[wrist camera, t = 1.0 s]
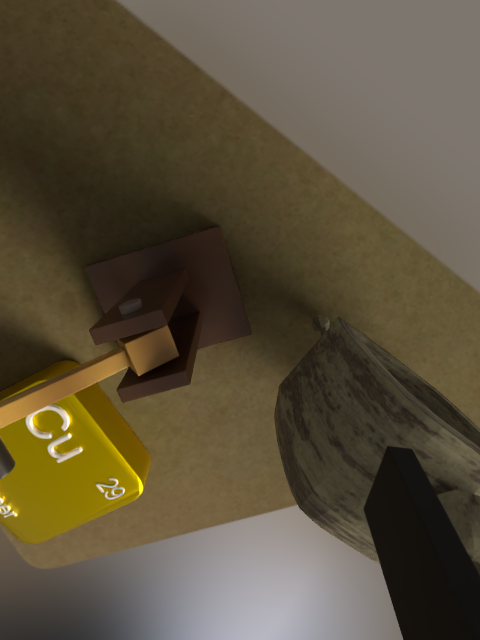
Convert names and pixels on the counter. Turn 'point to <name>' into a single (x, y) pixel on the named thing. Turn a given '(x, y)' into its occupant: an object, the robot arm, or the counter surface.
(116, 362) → the lever
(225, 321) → the wooden lever stand
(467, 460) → the tabletop clock
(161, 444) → the counter surface
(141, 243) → the counter surface
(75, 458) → the element tile
